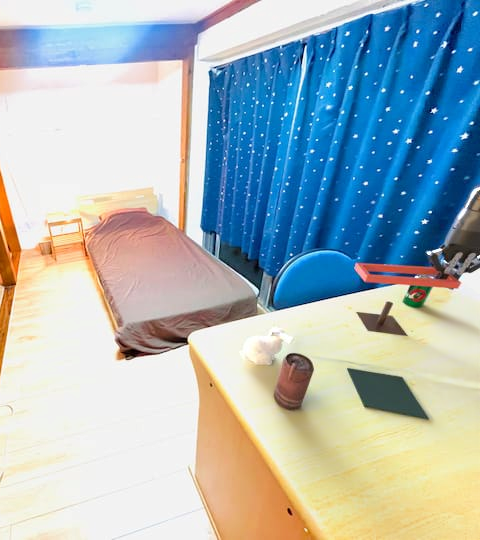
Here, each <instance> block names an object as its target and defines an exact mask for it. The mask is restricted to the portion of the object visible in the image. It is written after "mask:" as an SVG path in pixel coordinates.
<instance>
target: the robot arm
mask: <svg viewBox="0 0 480 540" xmlns="http://www.w3.org/2000/svg"><path fill="white" fill-rule="evenodd" d="M425 255H426V258H427V260H428V262H429V265H430V267H433V268H434V269H436V271H439V272H438V273H437V275H435V276H434V277H435V279H445V280H446V279H447V278H448V276H449V274H451V275H452V276H453V277H455V278H456V279H457V280H459V278H460V277H461V275H463V274H473V273H474V272H476V271H478V270H479V269H480V183H478V184H476V185H475V186H474V187H472V189H471V191H470V192H469V194H468V196H467V198H466V200H465V202H464V204H463V205H462V208H461V209H460V210H459V212H458V213H457V215H456V217H455V218H454V220H453V223H452V225H451V227H450V228H449V231H448V232H447V234H446V236H445V239H444V243H442V245H440V246H439V248H438V249H434V250H430V249H428V250H426V251H425ZM441 256H442V257H441ZM440 259H441V260H440Z"/></svg>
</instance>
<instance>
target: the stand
mask: <svg viewBox="0 0 480 540" xmlns="http://www.w3.org/2000/svg"><path fill="white" fill-rule="evenodd" d="M393 305H394V303H393V302H392V301H386V302H385V304H384V306H383V308H382V311H381V312H380V313H371V312H363V311H362V312H361V311H355V313H356V315H357V316H358V318H359V320H360V321H361V323H362V325H363V326H364V328H365V329H366V331H367V332H373V333H380V334H388V335H397V336H404V337H409V336H408V334H407V332H405V330H404V328H402V326H401V325H400V323H399V322H398V321H397V320H396V318H395V317H394V316H393V315H390V311H391V310H392V307H393Z"/></svg>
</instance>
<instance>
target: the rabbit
mask: <svg viewBox="0 0 480 540" xmlns="http://www.w3.org/2000/svg"><path fill="white" fill-rule="evenodd" d="M293 340H294V337H292V336H289V335H287V334H285V332H284V330H283V329H282V328H280V327H272V328H271V329H270V331H269V333H268V335H266V336H261V335H254V336H252V337H249V338H248V339H247V340H246V341H245V342H244V345H243V350H242V349H241V350H240V351H239V353H240V354H239V355H240V357H241V358H242V359H243V360H245V361H248V362H249V361H250V362H252V363H253V364H254V365H256V366H257V365H258V366H259V365H260V366H261V365H263V366H265V365H267V366H271V365H272V364H273V361H274V360H275V359H276V356H275V355H277V354H279V353H280V352H281V350H282V347H283V342H285V343H287V344H288V345H290V344H291V343H292V341H293Z"/></svg>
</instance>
